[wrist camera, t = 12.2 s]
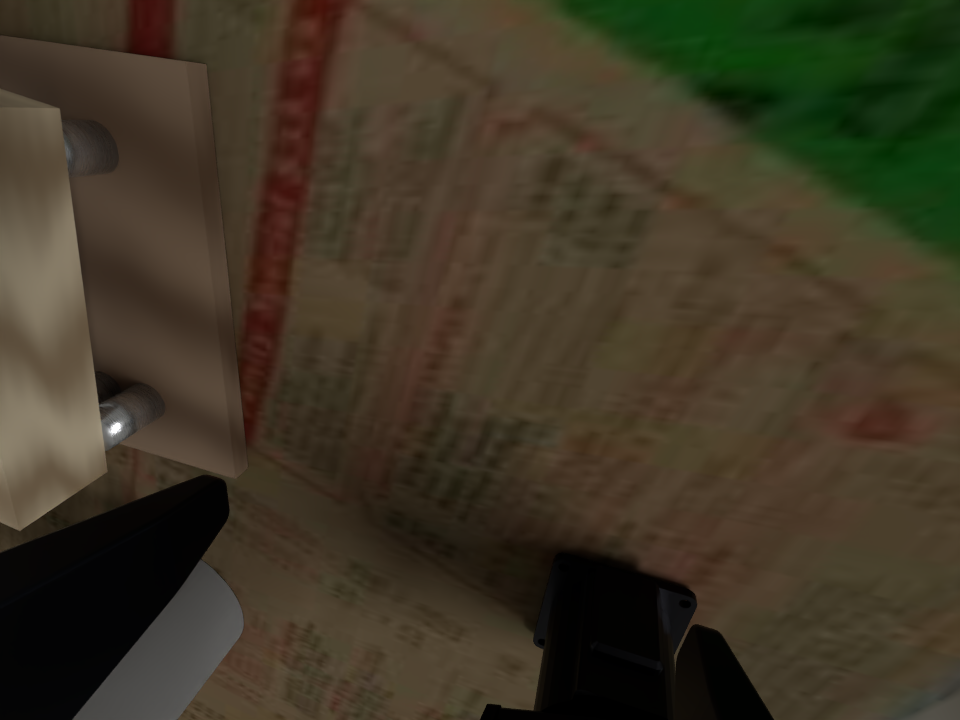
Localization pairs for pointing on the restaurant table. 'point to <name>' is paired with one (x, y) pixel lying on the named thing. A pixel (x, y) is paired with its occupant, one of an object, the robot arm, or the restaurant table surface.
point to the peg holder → (146, 245)
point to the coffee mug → (172, 654)
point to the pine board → (42, 323)
